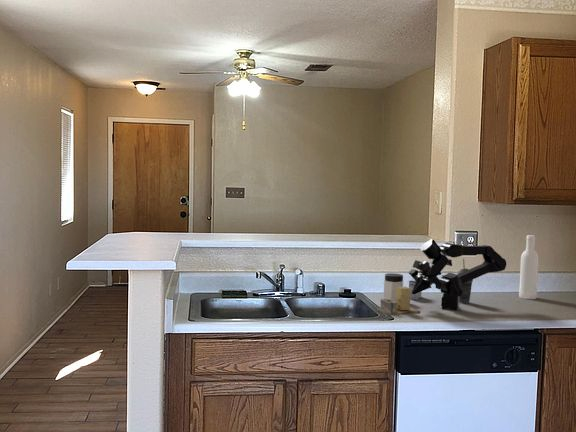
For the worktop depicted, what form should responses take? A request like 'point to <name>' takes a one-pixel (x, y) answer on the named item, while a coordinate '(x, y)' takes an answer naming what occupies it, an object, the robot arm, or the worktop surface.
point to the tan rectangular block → (403, 298)
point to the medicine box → (411, 285)
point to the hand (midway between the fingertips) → (412, 293)
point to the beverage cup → (465, 289)
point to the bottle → (529, 270)
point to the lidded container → (392, 285)
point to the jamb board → (394, 308)
